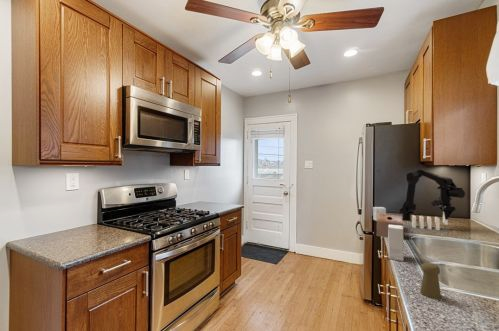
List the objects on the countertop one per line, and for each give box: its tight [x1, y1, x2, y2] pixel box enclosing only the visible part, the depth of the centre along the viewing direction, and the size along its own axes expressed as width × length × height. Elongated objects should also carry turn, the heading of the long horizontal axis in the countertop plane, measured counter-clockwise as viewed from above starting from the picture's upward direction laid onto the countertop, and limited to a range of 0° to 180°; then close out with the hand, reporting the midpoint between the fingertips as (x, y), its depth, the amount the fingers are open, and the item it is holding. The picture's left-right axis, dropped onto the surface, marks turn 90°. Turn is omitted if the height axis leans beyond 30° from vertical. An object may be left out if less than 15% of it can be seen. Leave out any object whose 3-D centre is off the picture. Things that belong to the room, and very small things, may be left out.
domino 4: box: [442, 211, 449, 226], centre depth 164 cm, size 2×5×8 cm, turn 155°
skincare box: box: [387, 224, 405, 262], centre depth 119 cm, size 8×7×16 cm
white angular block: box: [411, 214, 417, 228], centre depth 172 cm, size 2×5×8 cm, turn 155°
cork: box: [419, 262, 442, 300], centre depth 85 cm, size 6×6×11 cm
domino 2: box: [426, 216, 433, 229], centre depth 168 cm, size 2×5×8 cm, turn 155°
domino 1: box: [418, 215, 425, 230], centre depth 170 cm, size 2×5×8 cm, turn 155°
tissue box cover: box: [376, 213, 404, 238], centre depth 161 cm, size 26×14×10 cm, turn 149°
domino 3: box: [434, 216, 441, 230], centre depth 166 cm, size 2×5×8 cm, turn 155°
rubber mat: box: [403, 223, 451, 233], centre depth 169 cm, size 10×26×1 cm, turn 65°
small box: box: [372, 206, 387, 222], centre depth 195 cm, size 8×6×10 cm
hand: (445, 218), depth 164 cm, fingers closed on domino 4, 5 cm apart
